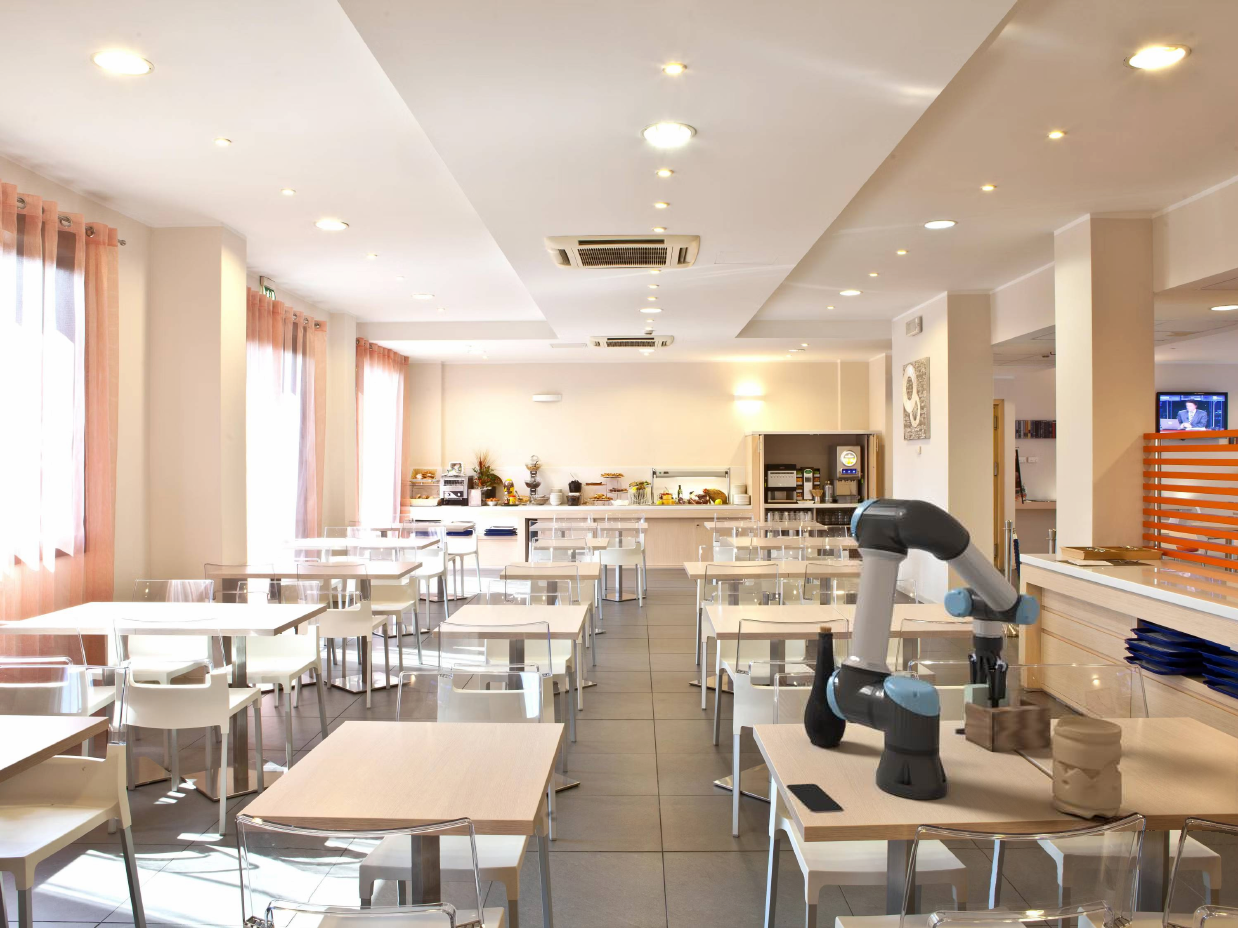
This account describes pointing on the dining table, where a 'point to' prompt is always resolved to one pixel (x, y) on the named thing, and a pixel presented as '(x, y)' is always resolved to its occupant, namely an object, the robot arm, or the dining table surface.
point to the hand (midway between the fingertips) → (987, 721)
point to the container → (1086, 766)
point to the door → (982, 696)
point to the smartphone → (814, 798)
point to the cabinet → (1008, 726)
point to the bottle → (823, 698)
